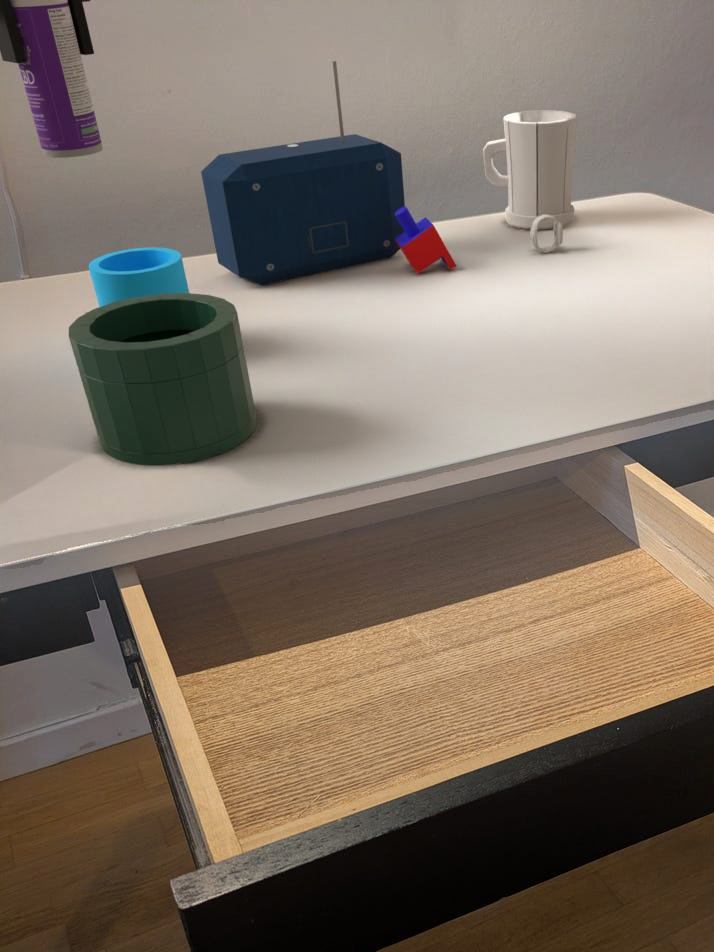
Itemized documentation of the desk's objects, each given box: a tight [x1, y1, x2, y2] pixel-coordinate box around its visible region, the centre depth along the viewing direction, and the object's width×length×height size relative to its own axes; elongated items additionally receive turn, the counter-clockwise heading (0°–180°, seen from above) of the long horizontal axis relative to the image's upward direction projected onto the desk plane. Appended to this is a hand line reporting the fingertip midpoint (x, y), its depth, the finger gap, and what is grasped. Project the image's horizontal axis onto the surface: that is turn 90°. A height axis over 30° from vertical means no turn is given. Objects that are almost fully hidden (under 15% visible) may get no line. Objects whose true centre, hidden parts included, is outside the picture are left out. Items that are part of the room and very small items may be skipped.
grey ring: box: [529, 215, 564, 254], centre depth 113 cm, size 4×2×4 cm, turn 103°
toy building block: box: [395, 206, 457, 275], centre depth 109 cm, size 4×4×8 cm
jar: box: [68, 292, 258, 467], centre depth 76 cm, size 12×12×9 cm
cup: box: [482, 109, 577, 231], centre depth 121 cm, size 10×9×12 cm
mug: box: [88, 247, 190, 308], centre depth 92 cm, size 12×8×8 cm
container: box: [10, 0, 104, 159], centre depth 75 cm, size 5×5×15 cm
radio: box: [200, 60, 406, 286], centre depth 107 cm, size 21×9×20 cm, turn 123°
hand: (48, 56), depth 75 cm, fingers closed on container, 5 cm apart
